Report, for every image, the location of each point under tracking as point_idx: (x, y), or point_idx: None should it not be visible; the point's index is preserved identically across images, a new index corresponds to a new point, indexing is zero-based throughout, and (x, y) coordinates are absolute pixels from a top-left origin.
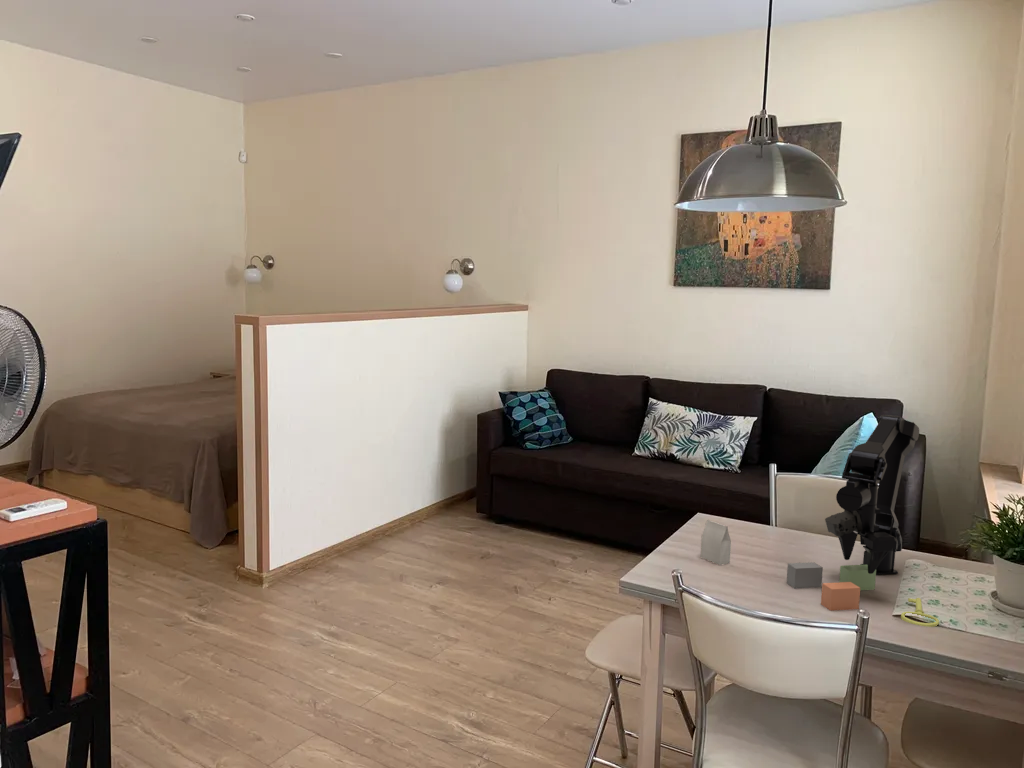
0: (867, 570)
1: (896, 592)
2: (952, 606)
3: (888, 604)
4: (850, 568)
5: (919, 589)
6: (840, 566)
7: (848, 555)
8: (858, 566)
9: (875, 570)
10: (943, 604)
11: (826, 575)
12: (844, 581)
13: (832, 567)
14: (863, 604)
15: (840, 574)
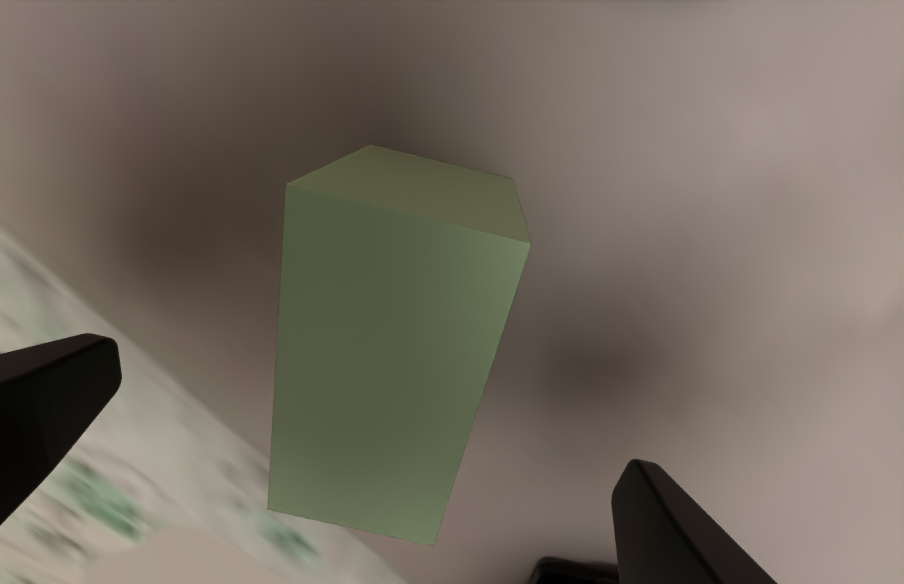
0: (272, 426)
1: (264, 450)
2: (44, 528)
3: (54, 233)
4: (377, 289)
5: (282, 572)
6: (527, 240)
7: (633, 543)
8: (409, 435)
9: (270, 497)
10: (70, 515)
11: (745, 268)
12: (423, 172)
13: (820, 448)
14: (42, 2)
15: (507, 205)
